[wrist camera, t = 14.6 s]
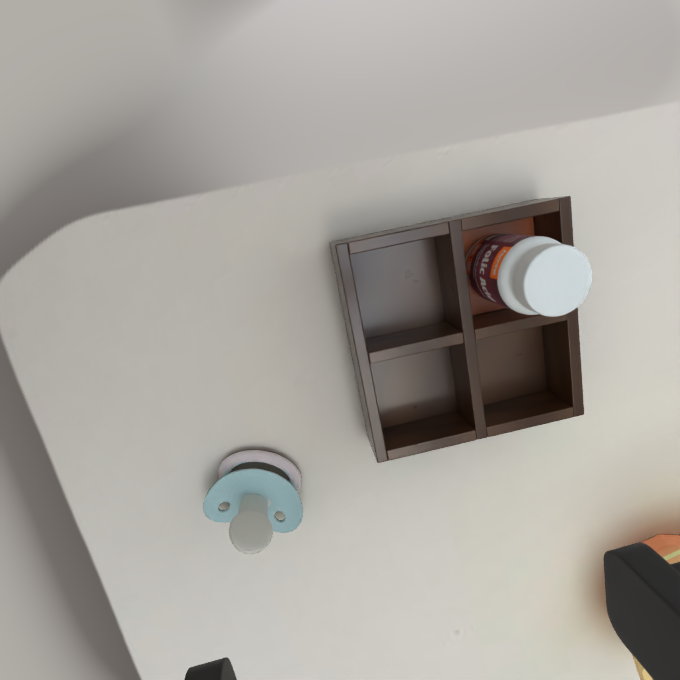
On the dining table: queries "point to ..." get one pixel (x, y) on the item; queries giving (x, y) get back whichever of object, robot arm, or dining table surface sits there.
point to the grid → (452, 335)
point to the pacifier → (255, 499)
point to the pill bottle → (528, 273)
